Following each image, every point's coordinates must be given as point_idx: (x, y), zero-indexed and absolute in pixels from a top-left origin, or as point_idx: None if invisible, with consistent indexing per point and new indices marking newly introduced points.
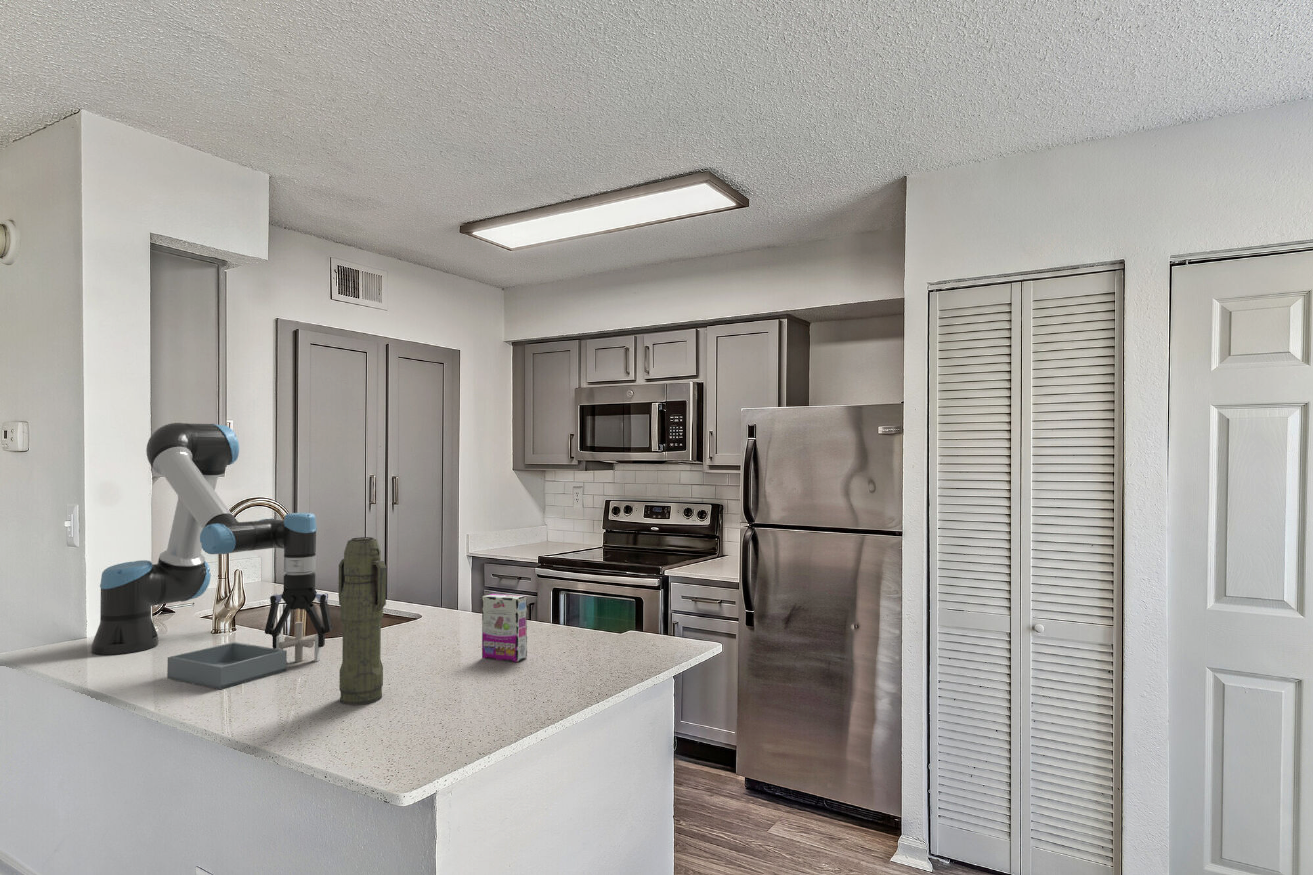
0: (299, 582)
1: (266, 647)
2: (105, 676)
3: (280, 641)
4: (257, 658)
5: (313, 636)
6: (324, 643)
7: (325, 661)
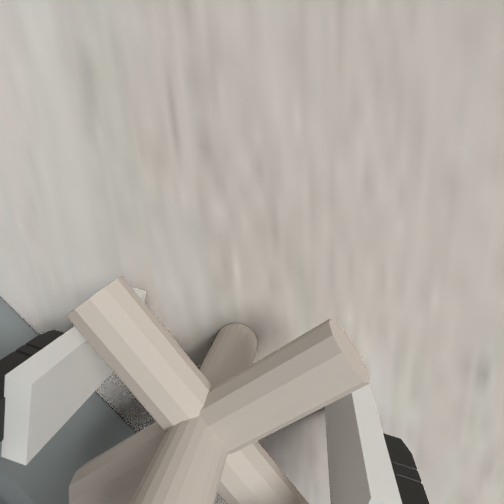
0: None
1: (13, 485)
2: None
3: (62, 410)
4: None
5: (321, 403)
6: (409, 462)
7: (386, 409)
